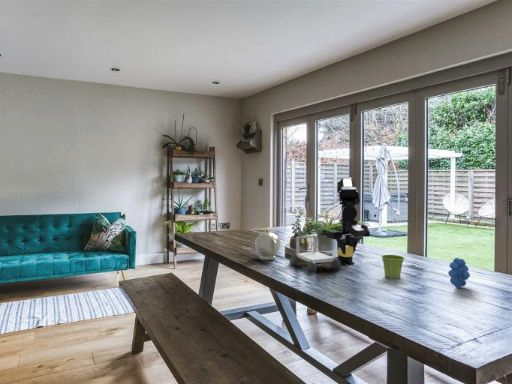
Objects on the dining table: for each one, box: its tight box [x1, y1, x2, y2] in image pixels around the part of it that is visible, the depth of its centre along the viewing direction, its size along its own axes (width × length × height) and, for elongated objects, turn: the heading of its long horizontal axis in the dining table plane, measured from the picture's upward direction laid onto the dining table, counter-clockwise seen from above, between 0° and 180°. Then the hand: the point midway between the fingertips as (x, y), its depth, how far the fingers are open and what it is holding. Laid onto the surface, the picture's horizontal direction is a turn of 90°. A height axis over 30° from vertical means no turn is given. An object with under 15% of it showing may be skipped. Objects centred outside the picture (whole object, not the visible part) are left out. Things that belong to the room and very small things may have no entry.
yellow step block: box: [336, 245, 354, 257], centre depth 161 cm, size 4×6×4 cm, turn 23°
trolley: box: [289, 234, 342, 273], centre depth 178 cm, size 21×15×14 cm
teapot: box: [254, 227, 281, 261], centre depth 195 cm, size 18×14×16 cm
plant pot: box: [380, 254, 406, 280], centre depth 160 cm, size 9×9×9 cm
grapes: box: [447, 257, 471, 289], centre depth 142 cm, size 12×7×12 cm, turn 123°
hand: (348, 253), depth 159 cm, fingers closed on yellow step block, 4 cm apart
